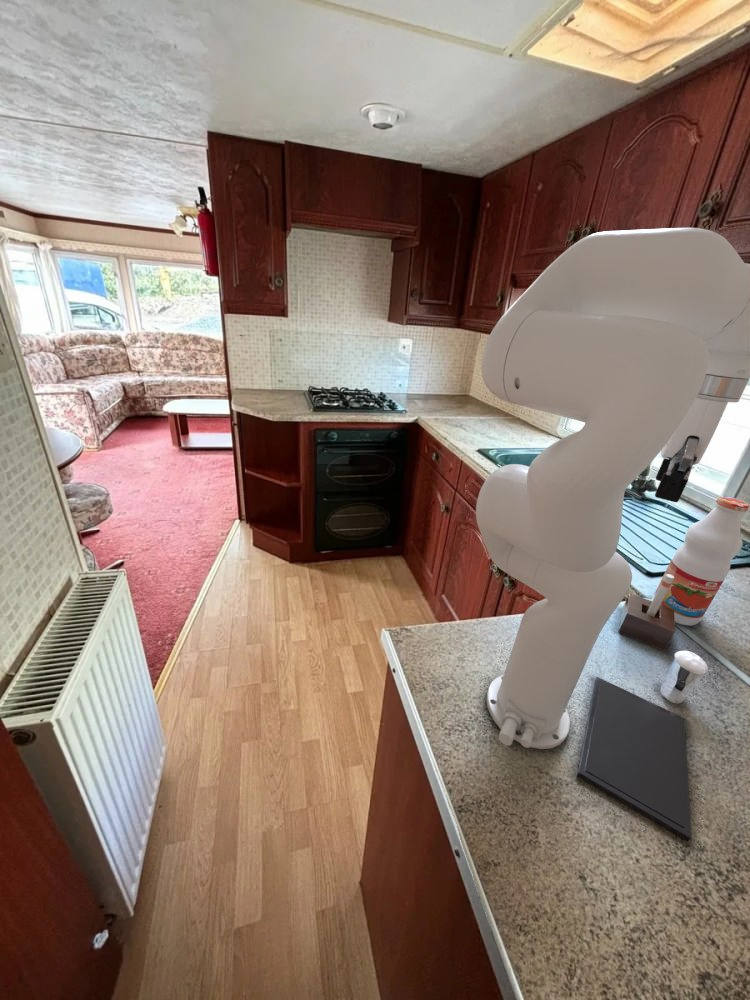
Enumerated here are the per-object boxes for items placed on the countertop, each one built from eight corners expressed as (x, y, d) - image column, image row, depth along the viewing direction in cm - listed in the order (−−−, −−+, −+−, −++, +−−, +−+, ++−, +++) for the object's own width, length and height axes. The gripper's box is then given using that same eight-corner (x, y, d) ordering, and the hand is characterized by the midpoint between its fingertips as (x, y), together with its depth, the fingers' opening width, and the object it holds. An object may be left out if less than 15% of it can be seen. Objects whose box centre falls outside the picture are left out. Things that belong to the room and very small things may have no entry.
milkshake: (677, 714, 66) (704, 671, 62) (649, 686, 71) (673, 644, 67) (697, 709, 68) (725, 666, 63) (669, 682, 72) (693, 641, 68)
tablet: (688, 842, 50) (691, 837, 49) (576, 776, 56) (578, 771, 55) (682, 722, 65) (685, 717, 65) (595, 680, 71) (597, 675, 71)
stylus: (646, 633, 83) (674, 579, 77) (638, 630, 84) (665, 576, 78) (646, 630, 84) (674, 575, 78) (638, 626, 85) (665, 572, 79)
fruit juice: (684, 601, 95) (742, 494, 83) (708, 630, 86) (777, 515, 74) (642, 595, 95) (694, 487, 83) (662, 622, 87) (723, 507, 75)
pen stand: (664, 651, 79) (675, 632, 77) (618, 632, 83) (627, 613, 81) (664, 627, 86) (674, 609, 83) (621, 610, 89) (629, 592, 87)
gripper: (680, 378, 69) (642, 470, 77) (684, 388, 56) (637, 499, 63) (734, 385, 66) (689, 482, 73) (753, 399, 52) (695, 515, 60)
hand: (665, 490), depth 68 cm, fingers open, 9 cm apart
